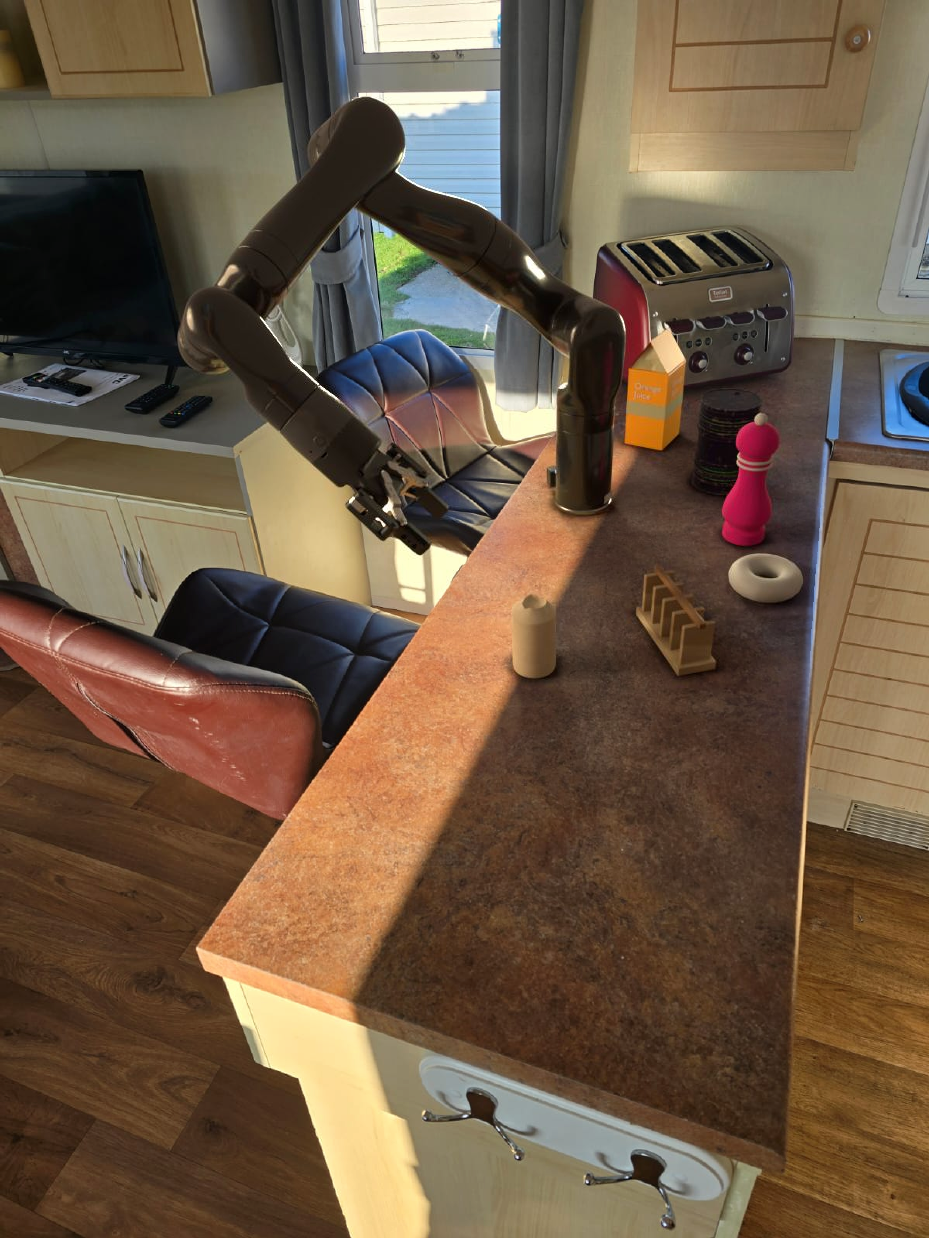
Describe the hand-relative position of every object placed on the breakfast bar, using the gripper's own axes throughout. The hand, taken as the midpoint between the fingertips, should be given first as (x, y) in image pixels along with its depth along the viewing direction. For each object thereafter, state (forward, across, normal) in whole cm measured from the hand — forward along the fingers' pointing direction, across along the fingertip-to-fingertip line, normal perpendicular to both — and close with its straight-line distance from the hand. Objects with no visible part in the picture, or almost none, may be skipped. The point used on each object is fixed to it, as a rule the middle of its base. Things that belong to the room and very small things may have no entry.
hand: (435, 531), depth 101 cm
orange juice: (+30, -73, +3) cm, 78 cm away
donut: (+42, -22, +16) cm, 50 cm away
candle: (+22, 0, -5) cm, 22 cm away
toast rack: (+34, -8, +7) cm, 35 cm away
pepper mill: (+41, -37, +14) cm, 57 cm away
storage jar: (+38, -55, +12) cm, 68 cm away
